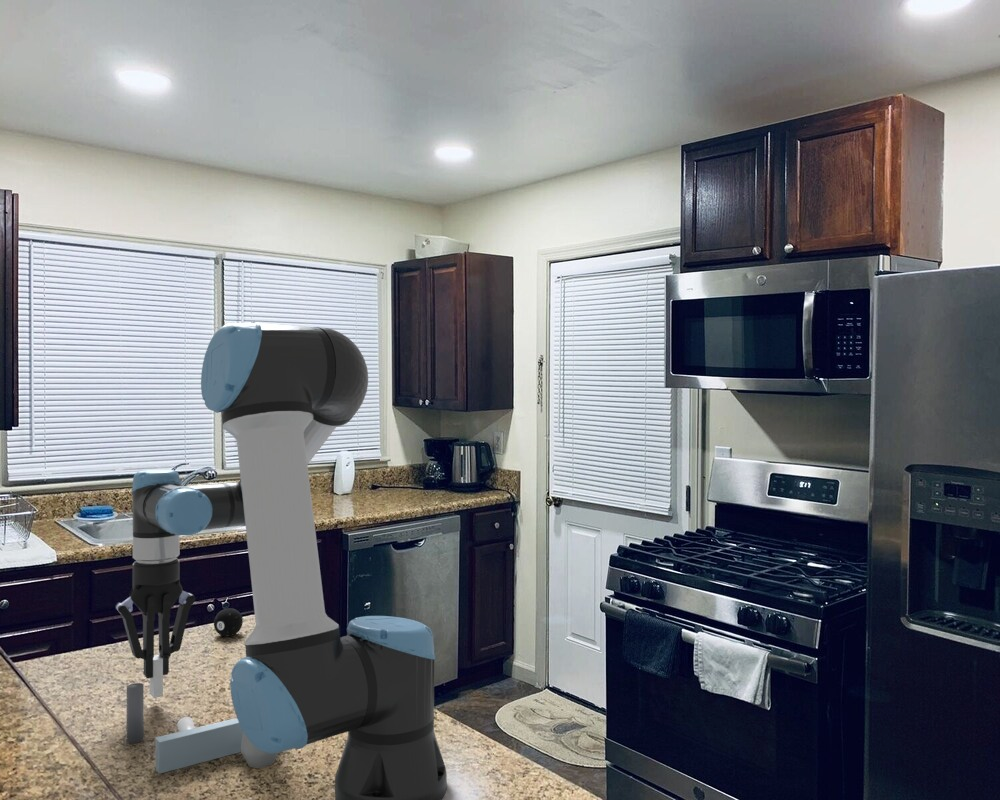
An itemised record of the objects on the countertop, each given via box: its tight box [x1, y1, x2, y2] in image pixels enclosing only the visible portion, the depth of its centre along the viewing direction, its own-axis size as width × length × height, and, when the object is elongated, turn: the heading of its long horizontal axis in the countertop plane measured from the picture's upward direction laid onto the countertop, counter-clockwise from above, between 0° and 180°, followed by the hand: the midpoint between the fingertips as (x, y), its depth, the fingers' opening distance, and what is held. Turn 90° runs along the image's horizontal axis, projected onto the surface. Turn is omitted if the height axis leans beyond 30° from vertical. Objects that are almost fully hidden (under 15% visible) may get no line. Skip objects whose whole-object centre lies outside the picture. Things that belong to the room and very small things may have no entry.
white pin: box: [176, 716, 196, 732], centre depth 125 cm, size 2×2×8 cm
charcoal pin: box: [126, 682, 145, 744], centre depth 125 cm, size 2×2×8 cm
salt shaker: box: [240, 732, 279, 769], centre depth 118 cm, size 6×6×13 cm
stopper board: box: [154, 717, 243, 775], centre depth 120 cm, size 2×18×4 cm, turn 127°
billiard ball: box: [213, 607, 244, 637], centre depth 180 cm, size 6×6×6 cm
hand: (156, 694), depth 140 cm, fingers closed
